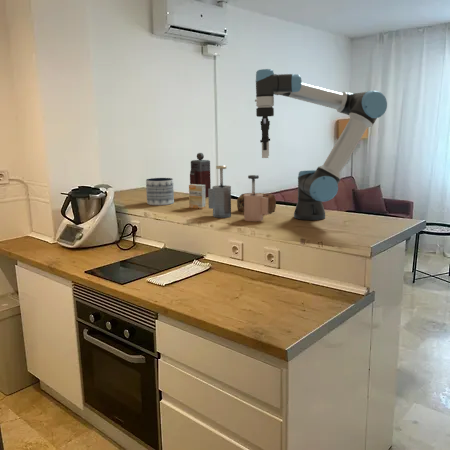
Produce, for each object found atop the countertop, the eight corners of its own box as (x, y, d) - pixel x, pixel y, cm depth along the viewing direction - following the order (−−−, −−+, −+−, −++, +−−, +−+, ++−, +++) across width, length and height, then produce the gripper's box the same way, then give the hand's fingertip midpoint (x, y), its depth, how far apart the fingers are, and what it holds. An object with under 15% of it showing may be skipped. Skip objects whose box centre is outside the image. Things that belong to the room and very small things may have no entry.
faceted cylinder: (214, 213, 243) (213, 184, 240) (234, 215, 237) (234, 186, 233) (204, 216, 235) (203, 186, 232) (225, 218, 229) (224, 188, 226)
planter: (179, 202, 280) (178, 178, 277) (162, 206, 267) (161, 181, 264) (159, 200, 288) (157, 177, 285) (141, 204, 275) (140, 180, 272)
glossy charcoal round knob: (251, 198, 227) (251, 174, 225) (260, 199, 225) (260, 175, 222) (246, 200, 223) (246, 176, 221) (255, 201, 220) (255, 176, 218)
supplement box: (189, 208, 259) (188, 184, 256) (192, 206, 263) (192, 183, 261) (202, 209, 256) (201, 185, 253) (206, 207, 260) (205, 184, 258)
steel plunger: (220, 190, 236) (219, 165, 233) (228, 191, 233) (228, 165, 231) (214, 191, 232) (214, 166, 229) (223, 192, 229) (222, 166, 227)
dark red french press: (188, 197, 298) (187, 153, 292) (201, 195, 306) (200, 152, 300) (198, 198, 292) (197, 153, 286) (211, 196, 300) (210, 152, 295)
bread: (276, 211, 246) (276, 193, 244) (265, 214, 237) (265, 195, 235) (247, 208, 257) (247, 190, 255) (236, 211, 248) (235, 192, 246)
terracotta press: (249, 216, 232) (249, 193, 229) (271, 219, 226) (271, 194, 223) (240, 220, 224) (240, 195, 222) (263, 222, 218) (263, 197, 216)
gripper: (257, 108, 213) (258, 155, 218) (254, 106, 189) (255, 159, 193) (274, 107, 212) (274, 154, 217) (273, 105, 188) (273, 158, 192)
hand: (265, 156), depth 205 cm, fingers open, 13 cm apart
